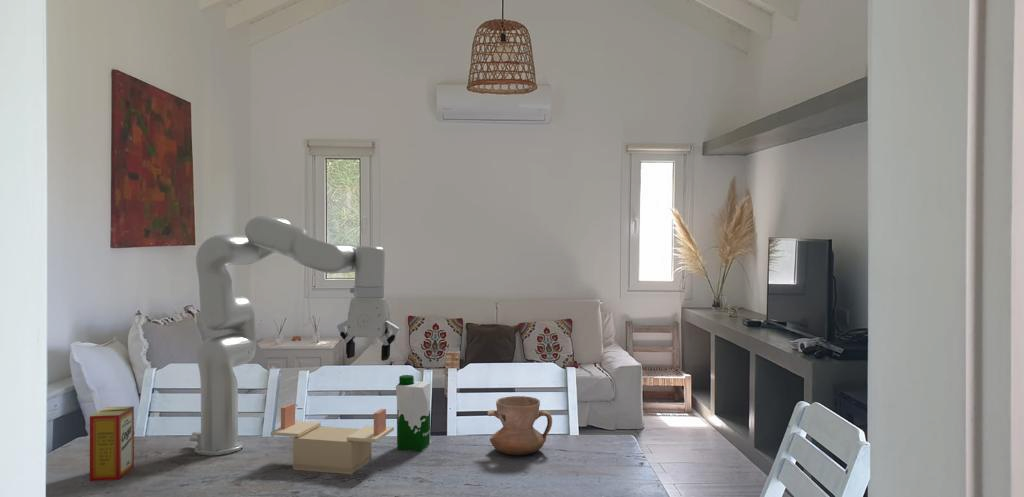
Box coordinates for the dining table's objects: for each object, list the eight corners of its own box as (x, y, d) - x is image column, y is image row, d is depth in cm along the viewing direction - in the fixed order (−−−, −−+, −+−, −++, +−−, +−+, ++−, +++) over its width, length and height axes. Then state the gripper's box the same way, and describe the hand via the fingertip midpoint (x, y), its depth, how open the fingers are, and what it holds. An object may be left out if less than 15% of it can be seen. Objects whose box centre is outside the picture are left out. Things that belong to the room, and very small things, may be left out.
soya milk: (403, 442, 200) (404, 373, 200) (433, 443, 198) (433, 374, 198) (392, 450, 191) (392, 378, 191) (423, 452, 189) (424, 380, 189)
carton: (292, 469, 175) (292, 438, 175) (316, 455, 187) (316, 425, 187) (351, 474, 172) (351, 442, 172) (371, 459, 183) (371, 429, 183)
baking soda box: (118, 479, 167) (118, 413, 167) (89, 481, 166) (89, 414, 166) (133, 467, 177) (133, 404, 177) (106, 468, 176) (106, 405, 176)
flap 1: (270, 435, 177) (270, 410, 177) (294, 423, 188) (294, 400, 188) (298, 437, 175) (298, 412, 175) (320, 425, 186) (320, 402, 186)
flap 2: (346, 440, 172) (346, 415, 172) (366, 428, 183) (366, 404, 183) (375, 442, 170) (375, 416, 170) (393, 430, 182) (393, 406, 182)
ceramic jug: (486, 459, 184) (486, 406, 184) (488, 443, 198) (488, 394, 198) (553, 459, 184) (553, 406, 184) (551, 444, 198) (551, 394, 198)
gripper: (332, 292, 178) (330, 358, 178) (394, 295, 174) (392, 363, 174) (345, 290, 185) (344, 354, 186) (405, 293, 182) (404, 358, 182)
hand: (367, 358), depth 180 cm, fingers open, 9 cm apart
